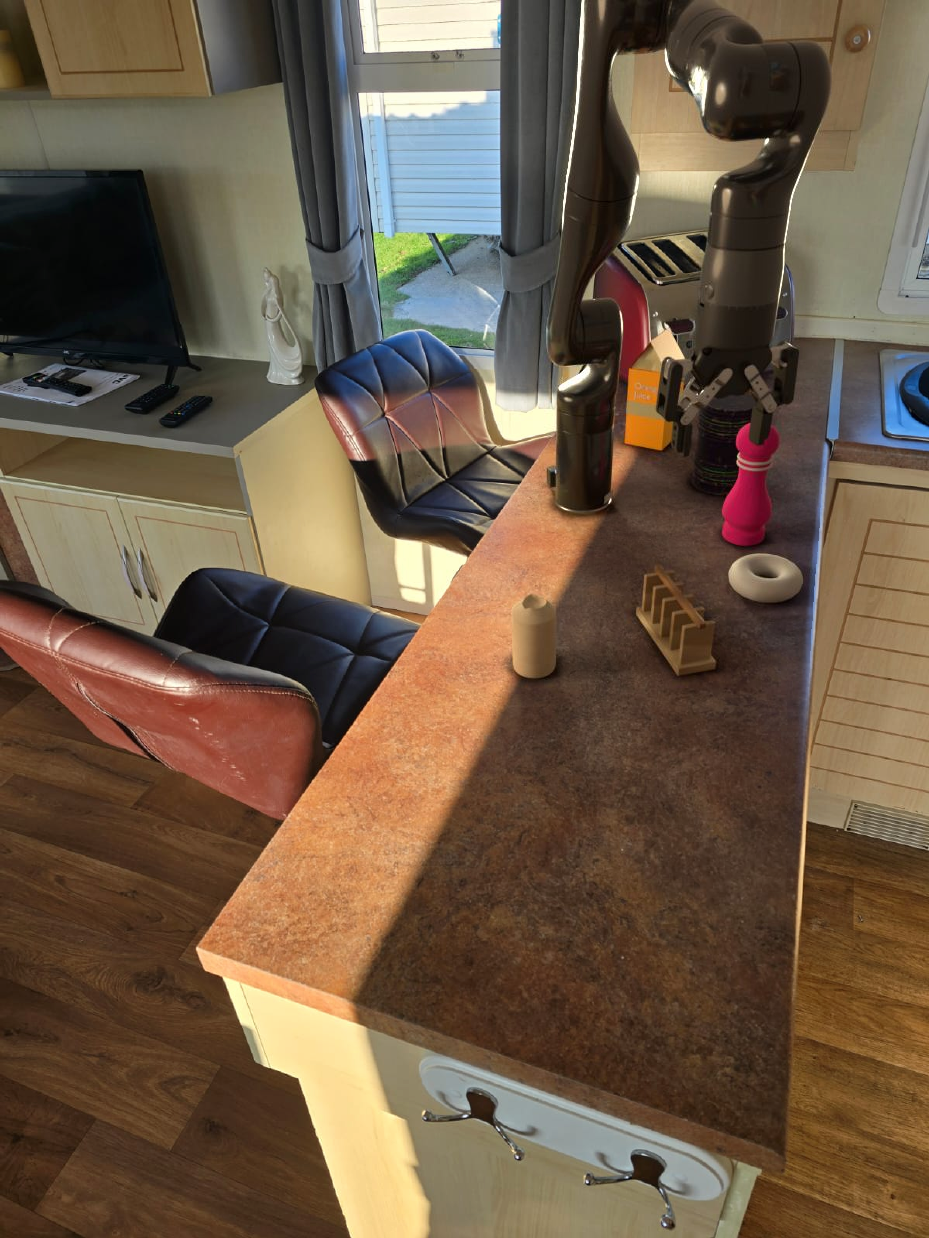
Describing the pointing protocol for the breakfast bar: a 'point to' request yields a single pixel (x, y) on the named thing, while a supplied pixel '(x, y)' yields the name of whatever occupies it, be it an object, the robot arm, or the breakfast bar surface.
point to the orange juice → (649, 394)
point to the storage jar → (720, 443)
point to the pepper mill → (750, 491)
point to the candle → (534, 637)
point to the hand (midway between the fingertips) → (718, 448)
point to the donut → (753, 587)
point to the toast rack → (676, 623)
